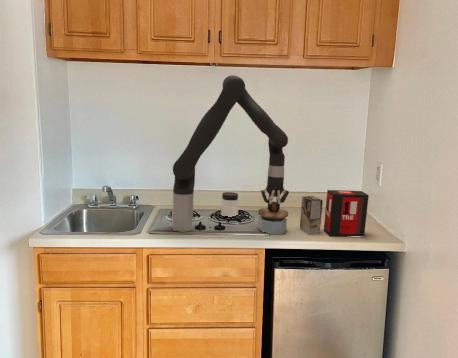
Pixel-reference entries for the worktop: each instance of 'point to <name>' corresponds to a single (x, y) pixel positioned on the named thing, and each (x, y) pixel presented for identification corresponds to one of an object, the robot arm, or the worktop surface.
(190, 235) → the worktop surface
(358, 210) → the cleaning product box
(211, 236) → the worktop surface
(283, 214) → the lid
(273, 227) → the bowl
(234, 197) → the jar
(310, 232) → the coffee box
